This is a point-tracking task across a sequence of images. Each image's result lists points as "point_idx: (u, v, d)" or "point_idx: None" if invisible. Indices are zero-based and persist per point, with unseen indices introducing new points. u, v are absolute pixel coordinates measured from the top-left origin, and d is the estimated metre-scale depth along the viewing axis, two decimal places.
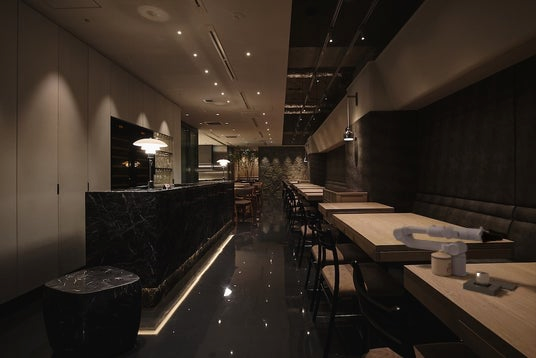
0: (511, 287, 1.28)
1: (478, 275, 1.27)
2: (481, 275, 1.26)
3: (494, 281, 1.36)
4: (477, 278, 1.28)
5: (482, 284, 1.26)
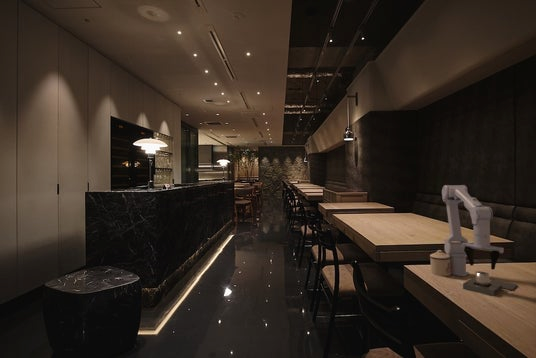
0: (511, 287, 1.28)
1: (478, 275, 1.27)
2: (481, 275, 1.26)
3: (494, 281, 1.36)
4: (477, 278, 1.28)
5: (482, 284, 1.26)
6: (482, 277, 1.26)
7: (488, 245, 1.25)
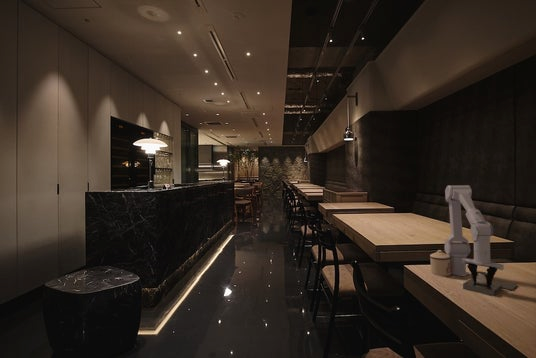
0: (511, 287, 1.28)
1: (478, 275, 1.27)
2: (481, 275, 1.26)
3: (494, 281, 1.36)
4: (477, 278, 1.28)
5: (482, 284, 1.26)
6: (482, 277, 1.26)
7: (488, 262, 1.25)
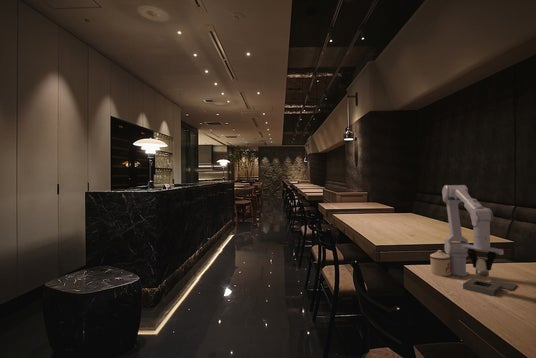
0: (511, 287, 1.28)
1: (478, 260, 1.27)
2: (481, 260, 1.26)
3: (494, 281, 1.36)
4: (477, 263, 1.28)
5: (482, 269, 1.26)
6: (482, 262, 1.26)
7: (488, 247, 1.25)
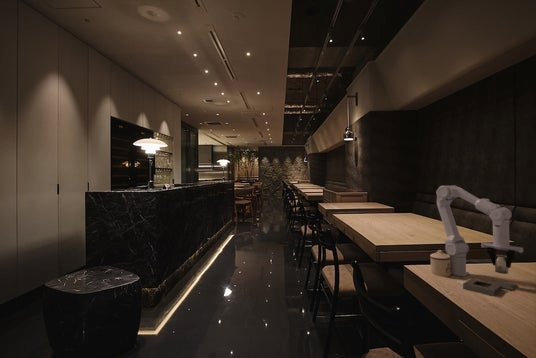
0: (511, 287, 1.28)
1: (497, 258, 1.31)
2: (500, 258, 1.30)
3: (494, 281, 1.36)
4: (496, 261, 1.32)
5: (501, 267, 1.30)
6: (501, 260, 1.30)
7: (508, 245, 1.30)
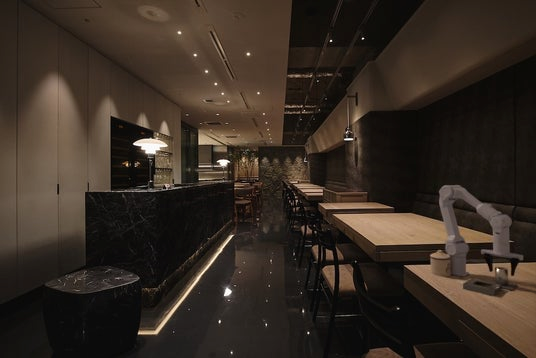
0: (511, 287, 1.28)
1: (497, 270, 1.31)
2: (500, 270, 1.30)
3: (494, 281, 1.36)
4: (496, 273, 1.32)
5: (501, 279, 1.30)
6: (501, 272, 1.30)
7: (508, 252, 1.30)
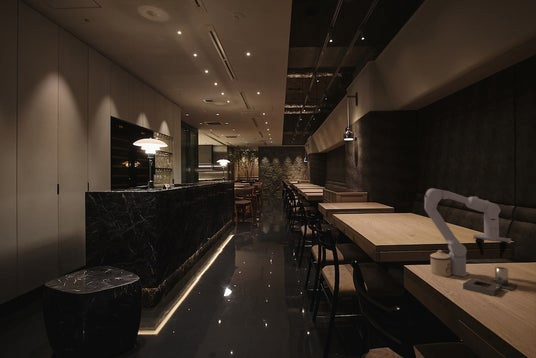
0: (511, 287, 1.28)
1: (497, 270, 1.31)
2: (500, 270, 1.30)
3: (494, 281, 1.36)
4: (496, 273, 1.32)
5: (501, 279, 1.30)
6: (501, 272, 1.30)
7: (497, 236, 1.42)
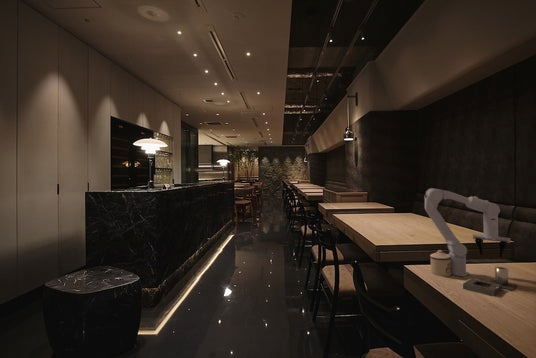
0: (511, 287, 1.28)
1: (497, 270, 1.31)
2: (500, 270, 1.30)
3: (494, 281, 1.36)
4: (496, 273, 1.32)
5: (501, 279, 1.30)
6: (501, 272, 1.30)
7: (497, 236, 1.43)
